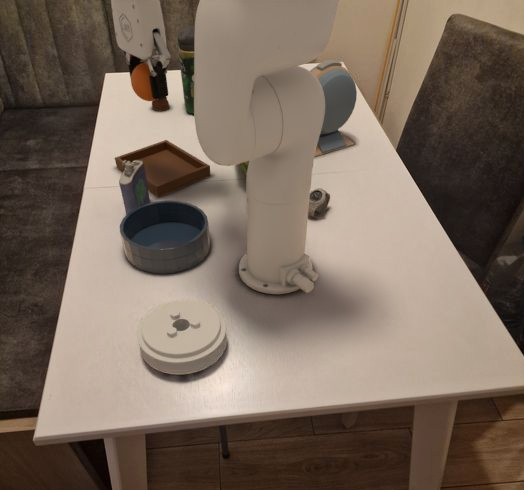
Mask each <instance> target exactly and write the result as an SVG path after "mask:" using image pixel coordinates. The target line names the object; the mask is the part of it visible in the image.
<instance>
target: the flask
mask: <svg viewBox="0 0 524 490" xmlns="http://www.w3.org/2000/svg"><path fill="white" fill-rule="evenodd" d="M125 162H126V160H125V161H123V162H122V163H125ZM122 165H123V164H122ZM125 166H126V167H125V170H124V171H123V172H122V173H121V175H120V178H119V182H118V184H119V188H120V192H121V197H122V201H123V205H124V210H125V216H126V215H127V214H128V213H129V212H131V211H132V210H134V209H135V208H137V207H140V206H142V205H145V204H148V203H151V199H150V193H149V192H150V191H149V190H148V185H147V180H146V173H145V167H144V162H143V161H141V160H134V161H133V162H132V163H131V162H130V161H127V162H126V163H125Z"/></svg>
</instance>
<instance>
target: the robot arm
mask: <svg viewBox="0 0 524 490" xmlns="http://www.w3.org/2000/svg"><path fill="white" fill-rule="evenodd" d="M339 1H340V0H199V1H198V5H197V8H196V11H195V12H196V13H195V19H194V26H195V41H194V113H193V114H194V115H193V116H194V117H193V119H194V126H195V132H196V133H195V134H196V137H197V140H198V143H199V146H200V148H201V150H202V151H203V153H204V155H205V156H206V158H207V159H209V160H210V161H211V162H213V163H214V164H216V165H219V166H225V167H230V166H236V165H239V164H240V163H243V162H247V161H249V160H250V161H249V165H248V169H247V174H246V182H245V183H246V184H245V186H246V189H245V190H246V192H245V193H246V194H245V195H246V196H245V197H246V236H247V237H246V240H247V242H246V243H247V252H246V253H245V254H244V255H242V257H241V258H240V259H239V260H240V261H239V262H238V263H239V264H238V275H239V277H240V279H241V280H242V282H243V283H244V284H245V285H246V286H248V287H249V288H250V289H252V290H255V291H257V292H259V293H263V294H269V295H285V294H290V293H293V292H296V291H298V290H301V291H303V292H305V293H306V294H309V293H311V292H312V290H313V289H314V287H315V283H314V282H316V281H317V280H318V278H319V274H318V273H317V272H315V270H313V269H314V268H313V263H312V261H311V259H310V256H309V255H308V254H306V243H307V230H308V220H309V215H308V209H309V197H310V192H311V187H312V177H313V168H314V160H315V157H314V156H315V151H316V147H317V143H318V140H319V136H320V133H321V129H322V126H323V121H324V115H325V96H324V92H323V89H322V86H321V84H320V82H319V80H318V79H317V77H316V76H315V75H314V74H313V73H312V72H311V71H310V69H308V68H305V67H302V66H303V65H305V64H307V63H311V62H313V61H314V60H316V59H318V58H320V56H321V55H322V54H323V53H324V51H325V50H326V48H327V45H328V44H329V41H330V37H331V35H332V31H333V28H334V27H333V26H334V22H335V20H336V19H335V18H336V14H337V11H338V4H339ZM110 3H111V12H112V14H111V15H112V20H113V27H114V34H115V39H116V40H115V41H116V44H117V47H119V48H120V50H122V52H123V53H124V54H125V62H126V64H127V65H128V73H129V77H130V79H131V75H132V72H133V70H134V69H135V67H136V66H138V65H139V64H141V63H145V61H146V63H148V66H149V69H150V72H151V75H150V76H149V78H150V84H151V91H152V97H153V99H155V100H156V99H159V98H163V97H168V96H169V88H168V81H167V80H168V79H167V74H168V68H169V64H170V63H171V60H172V55H171V53H170V51H169V50H168V46H167V37H166V28H165V23H164V17H163V11H162V6H161V1H160V0H110ZM153 53H155V54H153ZM154 60H157V61H156V63H154ZM154 65H155V66H154Z"/></svg>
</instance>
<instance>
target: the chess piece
mask: <svg viewBox="0 0 524 490" xmlns="http://www.w3.org/2000/svg"><path fill="white" fill-rule="evenodd" d="M151 108H152V110H153V111H155V112H165V111H168V110H169V109H170V102H169V100H168V96H166V97H163V98H159V99H157V100H155V101H151Z"/></svg>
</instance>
